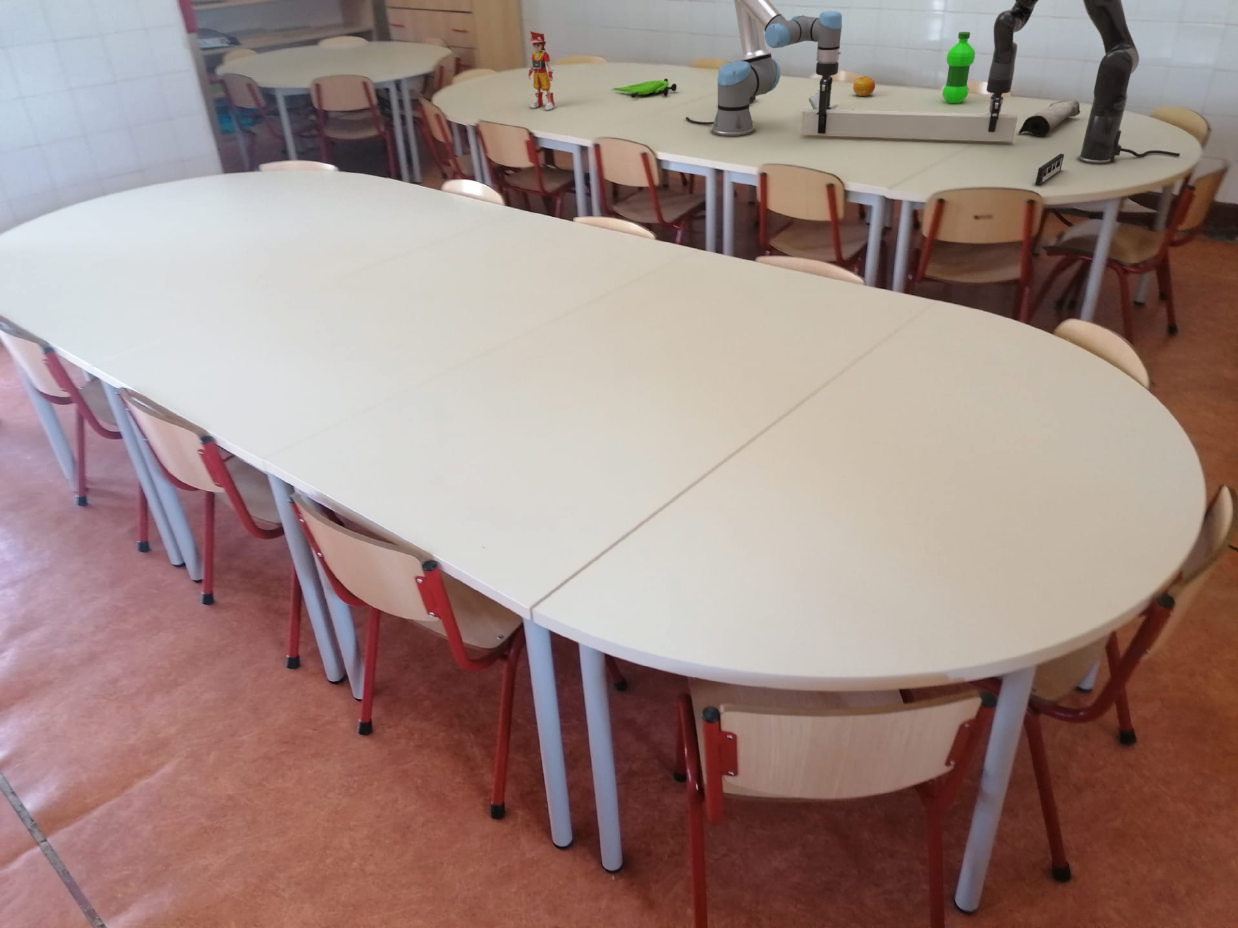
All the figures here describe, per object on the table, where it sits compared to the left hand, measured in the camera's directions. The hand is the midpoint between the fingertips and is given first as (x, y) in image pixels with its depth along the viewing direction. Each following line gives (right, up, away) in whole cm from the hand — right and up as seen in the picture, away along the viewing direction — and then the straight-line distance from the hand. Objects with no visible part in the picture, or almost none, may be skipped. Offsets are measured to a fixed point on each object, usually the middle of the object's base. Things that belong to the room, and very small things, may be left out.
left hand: (822, 131), depth 323 cm
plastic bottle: (+59, +23, +32) cm, 71 cm away
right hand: (+54, -6, -18) cm, 57 cm away
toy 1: (-106, +32, +60) cm, 126 cm away
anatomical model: (+6, +15, +24) cm, 29 cm away
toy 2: (-64, +45, +74) cm, 107 cm away
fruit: (+28, +33, +48) cm, 65 cm away
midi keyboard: (+58, -32, -48) cm, 82 cm away
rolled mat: (+81, +1, -3) cm, 81 cm away
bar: (+27, -5, -8) cm, 28 cm away
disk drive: (-25, +29, +48) cm, 61 cm away
